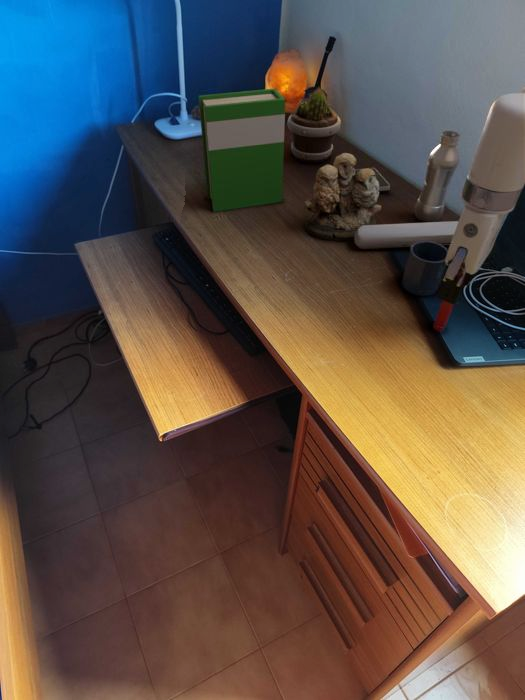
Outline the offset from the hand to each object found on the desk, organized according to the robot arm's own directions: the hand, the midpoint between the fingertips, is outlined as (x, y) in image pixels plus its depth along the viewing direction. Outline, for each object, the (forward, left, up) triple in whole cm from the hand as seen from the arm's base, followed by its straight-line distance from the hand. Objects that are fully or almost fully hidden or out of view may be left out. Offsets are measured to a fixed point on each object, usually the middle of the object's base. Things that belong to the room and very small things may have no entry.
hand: (453, 290), depth 79 cm
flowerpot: (+58, -48, -9) cm, 76 cm away
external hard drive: (+36, -42, -9) cm, 56 cm away
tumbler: (+8, -10, -9) cm, 16 cm away
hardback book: (+58, -16, -9) cm, 61 cm away
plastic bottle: (+17, -35, -9) cm, 40 cm away
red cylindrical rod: (0, 0, -9) cm, 9 cm away
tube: (+16, -22, -9) cm, 29 cm away
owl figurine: (+32, -19, -9) cm, 38 cm away
